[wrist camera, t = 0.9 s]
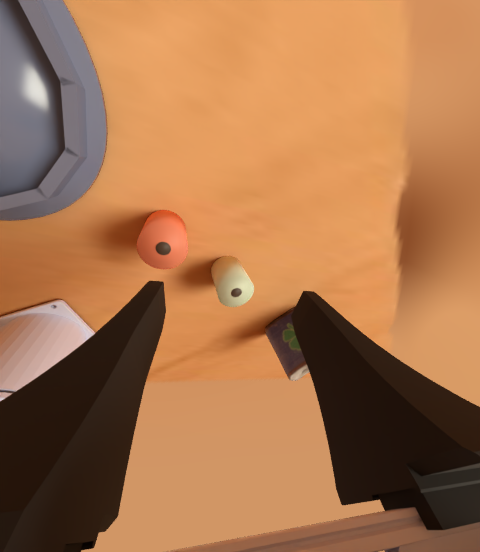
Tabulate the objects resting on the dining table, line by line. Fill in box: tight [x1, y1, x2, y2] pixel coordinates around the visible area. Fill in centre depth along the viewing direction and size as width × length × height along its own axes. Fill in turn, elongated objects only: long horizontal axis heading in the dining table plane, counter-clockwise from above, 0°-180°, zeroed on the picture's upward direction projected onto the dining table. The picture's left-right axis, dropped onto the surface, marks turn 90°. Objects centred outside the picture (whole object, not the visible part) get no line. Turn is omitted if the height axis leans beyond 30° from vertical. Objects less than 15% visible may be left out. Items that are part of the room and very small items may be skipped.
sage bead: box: [211, 256, 254, 307], centre depth 23 cm, size 4×4×5 cm
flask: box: [265, 307, 309, 381], centre depth 29 cm, size 9×3×11 cm, turn 118°
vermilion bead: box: [137, 210, 188, 269], centre depth 18 cm, size 4×4×5 cm
